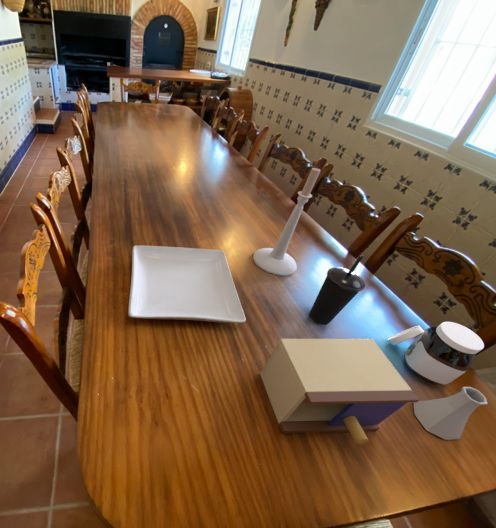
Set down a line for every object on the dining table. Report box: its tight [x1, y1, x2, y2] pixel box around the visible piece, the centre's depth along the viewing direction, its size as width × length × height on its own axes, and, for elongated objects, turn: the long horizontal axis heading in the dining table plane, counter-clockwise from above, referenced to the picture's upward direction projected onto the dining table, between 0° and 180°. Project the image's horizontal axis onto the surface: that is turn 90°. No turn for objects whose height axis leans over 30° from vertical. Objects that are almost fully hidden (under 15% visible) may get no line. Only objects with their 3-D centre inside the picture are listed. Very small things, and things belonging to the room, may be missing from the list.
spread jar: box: [387, 321, 485, 386], centre depth 63 cm, size 12×11×12 cm
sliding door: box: [328, 403, 407, 445], centre depth 49 cm, size 4×9×9 cm, turn 93°
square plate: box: [127, 245, 247, 324], centre depth 78 cm, size 27×27×4 cm
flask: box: [412, 386, 489, 441], centre depth 53 cm, size 7×7×10 cm
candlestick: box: [252, 167, 321, 277], centre depth 82 cm, size 13×13×30 cm
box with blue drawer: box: [259, 338, 420, 434], centre depth 54 cm, size 12×18×12 cm, turn 93°
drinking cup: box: [308, 254, 366, 326], centre depth 68 cm, size 8×8×20 cm
